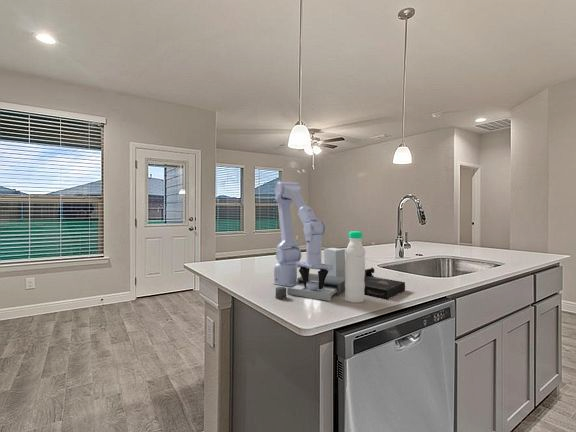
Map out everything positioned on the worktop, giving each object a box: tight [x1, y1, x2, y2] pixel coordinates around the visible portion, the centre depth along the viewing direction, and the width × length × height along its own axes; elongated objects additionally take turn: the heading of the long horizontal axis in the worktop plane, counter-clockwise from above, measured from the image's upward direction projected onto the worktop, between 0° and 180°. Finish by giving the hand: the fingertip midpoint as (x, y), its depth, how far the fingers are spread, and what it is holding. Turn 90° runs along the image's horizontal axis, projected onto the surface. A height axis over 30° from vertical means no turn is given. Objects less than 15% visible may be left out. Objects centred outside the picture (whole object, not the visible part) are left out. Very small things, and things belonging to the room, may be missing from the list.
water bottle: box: [344, 230, 366, 304], centre depth 114 cm, size 7×7×25 cm
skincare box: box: [323, 247, 346, 278], centre depth 142 cm, size 8×6×15 cm
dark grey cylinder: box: [275, 286, 287, 300], centre depth 118 cm, size 4×4×4 cm
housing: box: [297, 272, 346, 296], centre depth 130 cm, size 18×11×4 cm, turn 62°
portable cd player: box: [364, 276, 406, 301], centre depth 128 cm, size 16×17×4 cm
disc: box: [306, 281, 319, 289], centre depth 121 cm, size 6×6×2 cm
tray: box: [286, 283, 338, 302], centre depth 122 cm, size 18×11×2 cm, turn 62°
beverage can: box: [365, 267, 375, 277], centre depth 145 cm, size 9×8×12 cm
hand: (313, 287), depth 122 cm, fingers closed on disc, 5 cm apart
